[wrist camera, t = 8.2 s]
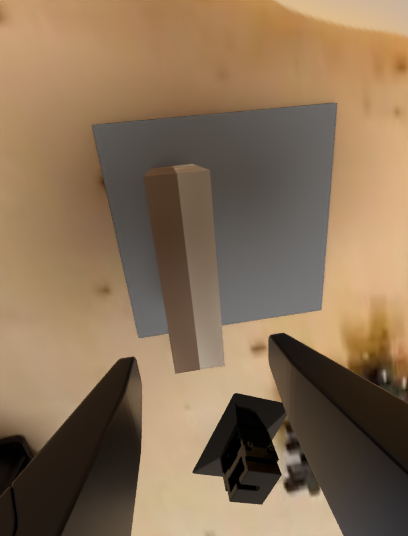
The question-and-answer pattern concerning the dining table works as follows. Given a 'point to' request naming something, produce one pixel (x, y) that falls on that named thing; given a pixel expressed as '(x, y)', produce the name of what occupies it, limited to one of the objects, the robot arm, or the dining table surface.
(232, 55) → the dining table surface
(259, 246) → the mat
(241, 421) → the black angular block
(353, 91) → the dining table surface
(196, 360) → the tile
